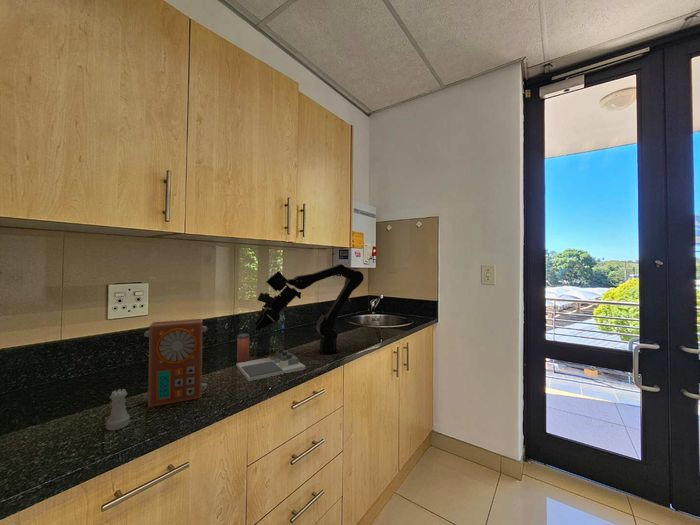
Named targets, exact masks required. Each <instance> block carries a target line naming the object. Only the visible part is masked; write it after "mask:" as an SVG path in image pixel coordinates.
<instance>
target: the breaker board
mask: <svg viewBox="0 0 700 525" xmlns="http://www.w3.org/2000/svg"><path fill="white" fill-rule="evenodd" d="M275 353H276V354H275V356H270V357H264V358H259V359H254V360H253V359H252V360H248V361H245V362H236V365H235V367H236V368H237V369H238V371H239V372H240V373H241V374H242V375H243V377H244V378H245V379H246V380H247V381H248V382H251V381H255V380H261V379H262V380H263V379H266V378H267V379H268V378H271V376H272V377H275V376H281V375H285V374H284V373H286V374H289V373H294V372H299V371H304V369H305V370H306V365H304V364H303V363H302V362H300V360H299V357H298V356H296V355H294V354H292V353H291V352H289V351H288V350H284V349H283V348H278V349H277V351H276V352H275ZM280 374H281V375H280Z"/></svg>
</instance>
